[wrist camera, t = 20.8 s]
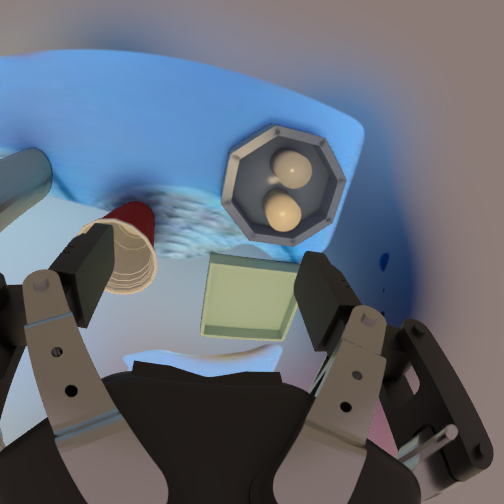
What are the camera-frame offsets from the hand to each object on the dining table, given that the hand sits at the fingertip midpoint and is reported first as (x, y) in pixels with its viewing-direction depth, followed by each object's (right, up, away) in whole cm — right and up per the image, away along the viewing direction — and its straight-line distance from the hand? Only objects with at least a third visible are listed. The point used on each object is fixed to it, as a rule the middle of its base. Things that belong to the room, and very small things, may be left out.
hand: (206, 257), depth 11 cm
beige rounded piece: (+6, +12, +25) cm, 29 cm away
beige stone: (+5, +7, +28) cm, 30 cm away
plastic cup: (-15, +5, +28) cm, 32 cm away
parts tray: (+1, -8, +37) cm, 38 cm away
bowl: (+6, +10, +28) cm, 30 cm away
